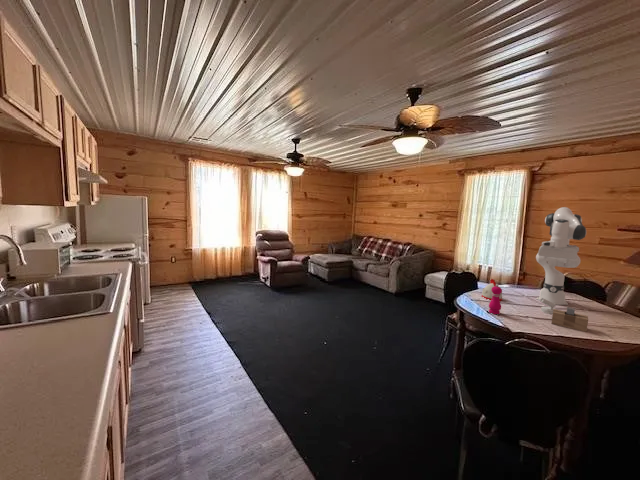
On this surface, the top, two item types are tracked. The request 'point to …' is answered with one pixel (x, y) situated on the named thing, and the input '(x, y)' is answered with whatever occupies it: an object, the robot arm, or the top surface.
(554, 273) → the robot arm
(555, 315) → the wooden block
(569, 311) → the rail bracket
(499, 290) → the pepper mill
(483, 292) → the kitchen timer
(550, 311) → the wall hook
